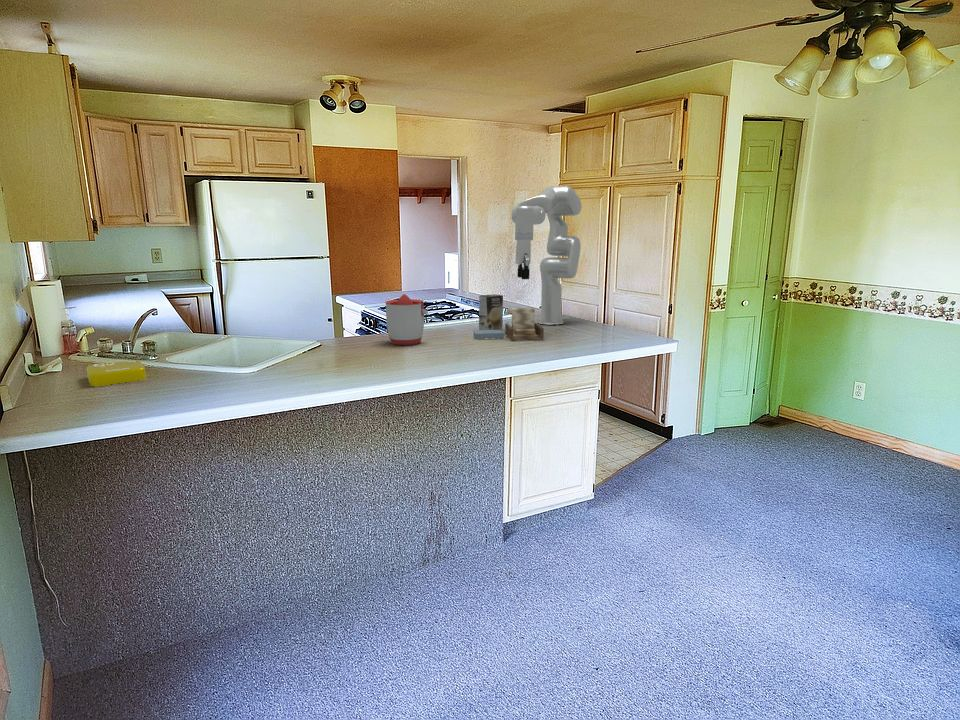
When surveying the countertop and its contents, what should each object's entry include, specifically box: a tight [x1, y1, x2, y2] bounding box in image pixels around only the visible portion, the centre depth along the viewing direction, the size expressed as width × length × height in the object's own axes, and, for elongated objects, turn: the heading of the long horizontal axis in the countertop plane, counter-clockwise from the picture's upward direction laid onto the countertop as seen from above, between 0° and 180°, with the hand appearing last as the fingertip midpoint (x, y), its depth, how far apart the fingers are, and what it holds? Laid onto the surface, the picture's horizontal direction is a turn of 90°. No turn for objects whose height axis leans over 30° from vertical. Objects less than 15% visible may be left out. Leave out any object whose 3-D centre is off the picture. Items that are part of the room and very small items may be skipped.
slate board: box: [473, 329, 505, 340], centre depth 254 cm, size 12×8×2 cm, turn 96°
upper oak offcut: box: [515, 329, 535, 336], centre depth 251 cm, size 8×4×2 cm, turn 92°
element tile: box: [85, 359, 147, 388], centre depth 188 cm, size 15×15×5 cm
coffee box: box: [478, 293, 504, 331], centre depth 268 cm, size 9×6×16 cm
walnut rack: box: [504, 322, 545, 341], centre depth 253 cm, size 14×14×5 cm
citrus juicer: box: [384, 293, 430, 346], centre depth 241 cm, size 16×17×20 cm
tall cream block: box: [511, 307, 536, 334], centre depth 255 cm, size 9×4×12 cm, turn 96°
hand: (523, 278), depth 251 cm, fingers open, 9 cm apart
